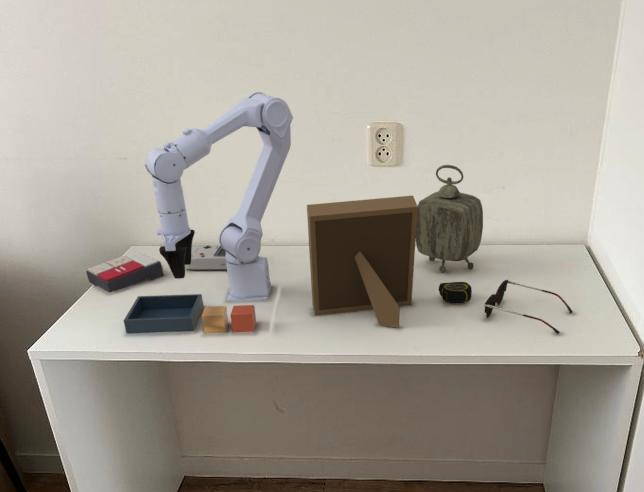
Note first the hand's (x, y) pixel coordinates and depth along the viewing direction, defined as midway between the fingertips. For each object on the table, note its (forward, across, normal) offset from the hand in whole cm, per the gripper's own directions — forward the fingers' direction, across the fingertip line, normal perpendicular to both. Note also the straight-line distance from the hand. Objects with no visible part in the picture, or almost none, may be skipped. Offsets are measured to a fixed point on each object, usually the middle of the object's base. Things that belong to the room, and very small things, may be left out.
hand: (182, 270), depth 161 cm
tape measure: (+10, 0, +60) cm, 61 cm away
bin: (+9, +5, -4) cm, 12 cm away
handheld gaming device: (+10, -27, +2) cm, 29 cm away
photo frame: (+10, +7, +40) cm, 42 cm away
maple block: (+9, +11, +8) cm, 16 cm away
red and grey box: (+10, -20, -19) cm, 29 cm away
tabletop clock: (+10, -18, +60) cm, 63 cm away
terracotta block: (+9, +11, +14) cm, 20 cm away
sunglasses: (+10, +10, +75) cm, 76 cm away
